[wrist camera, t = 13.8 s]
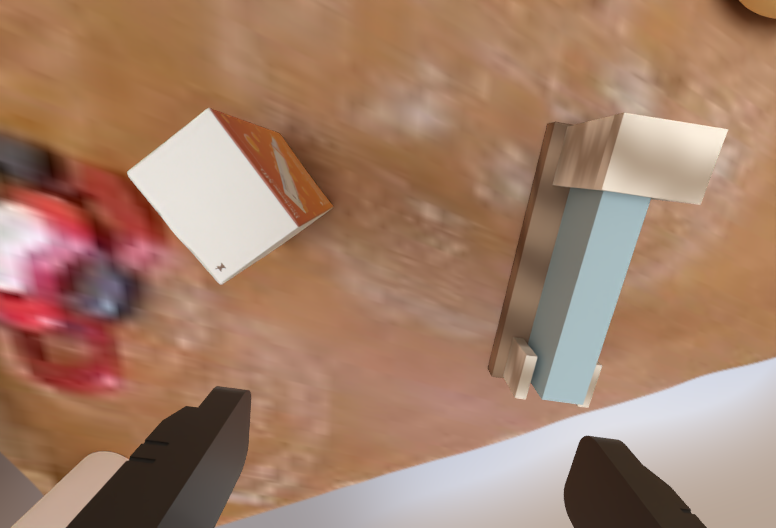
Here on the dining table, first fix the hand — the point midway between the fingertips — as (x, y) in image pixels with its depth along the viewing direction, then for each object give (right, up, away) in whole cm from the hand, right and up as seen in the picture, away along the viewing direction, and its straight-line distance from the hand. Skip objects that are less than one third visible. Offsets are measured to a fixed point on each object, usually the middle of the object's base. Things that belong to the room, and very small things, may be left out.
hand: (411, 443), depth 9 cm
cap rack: (+16, +4, +26) cm, 31 cm away
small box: (-10, +11, +24) cm, 29 cm away
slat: (+16, +3, +24) cm, 29 cm away
